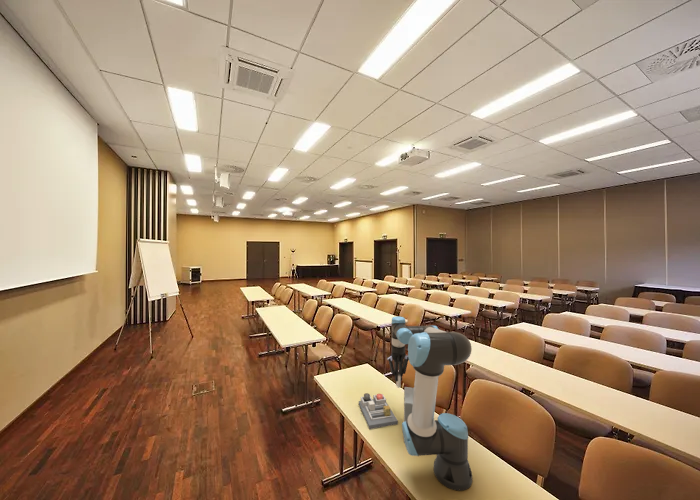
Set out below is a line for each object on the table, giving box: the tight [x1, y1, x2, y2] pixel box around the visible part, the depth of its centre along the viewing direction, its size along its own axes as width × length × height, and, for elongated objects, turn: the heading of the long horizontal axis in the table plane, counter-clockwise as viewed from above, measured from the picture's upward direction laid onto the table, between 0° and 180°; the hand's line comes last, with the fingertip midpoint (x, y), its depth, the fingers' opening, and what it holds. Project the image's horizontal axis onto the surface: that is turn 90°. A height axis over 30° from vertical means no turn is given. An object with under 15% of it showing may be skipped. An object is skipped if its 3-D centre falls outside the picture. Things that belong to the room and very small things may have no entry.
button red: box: [376, 393, 384, 400], centre depth 158 cm, size 4×4×3 cm
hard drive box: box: [403, 386, 414, 444], centre depth 135 cm, size 16×8×20 cm, turn 168°
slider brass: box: [383, 406, 391, 417], centre depth 147 cm, size 3×3×4 cm
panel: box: [358, 393, 399, 430], centre depth 151 cm, size 22×16×5 cm
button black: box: [363, 393, 371, 402], centre depth 156 cm, size 4×4×3 cm
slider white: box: [368, 401, 375, 412], centre depth 151 cm, size 3×3×4 cm
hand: (398, 386), depth 148 cm, fingers closed
